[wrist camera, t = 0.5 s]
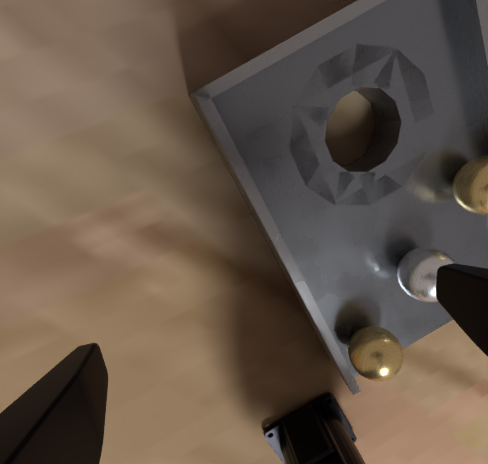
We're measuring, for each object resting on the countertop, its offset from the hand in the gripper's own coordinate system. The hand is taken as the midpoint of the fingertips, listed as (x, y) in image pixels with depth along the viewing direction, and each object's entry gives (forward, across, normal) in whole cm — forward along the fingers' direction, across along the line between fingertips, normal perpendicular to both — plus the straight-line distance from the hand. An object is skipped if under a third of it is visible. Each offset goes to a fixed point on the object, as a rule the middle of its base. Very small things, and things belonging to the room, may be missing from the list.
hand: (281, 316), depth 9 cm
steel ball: (+9, -12, +6) cm, 16 cm away
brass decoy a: (+10, -8, +11) cm, 17 cm away
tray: (+14, -10, +2) cm, 17 cm away
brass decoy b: (+9, -15, +1) cm, 18 cm away
